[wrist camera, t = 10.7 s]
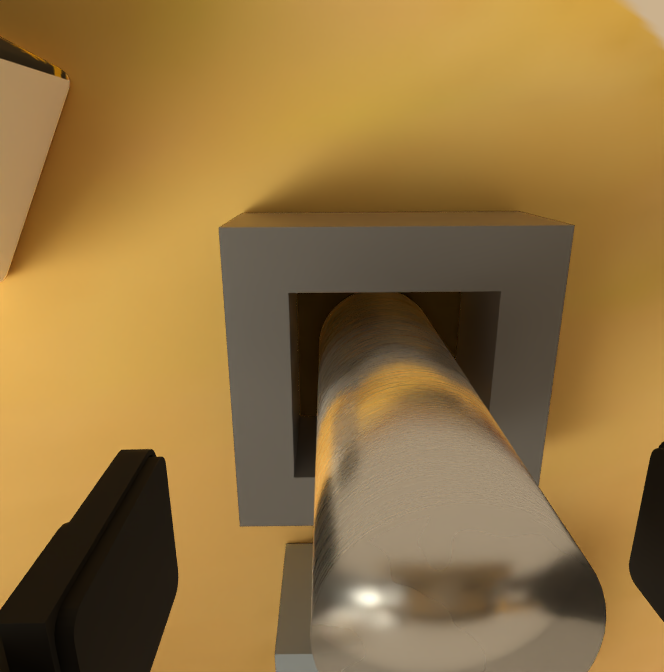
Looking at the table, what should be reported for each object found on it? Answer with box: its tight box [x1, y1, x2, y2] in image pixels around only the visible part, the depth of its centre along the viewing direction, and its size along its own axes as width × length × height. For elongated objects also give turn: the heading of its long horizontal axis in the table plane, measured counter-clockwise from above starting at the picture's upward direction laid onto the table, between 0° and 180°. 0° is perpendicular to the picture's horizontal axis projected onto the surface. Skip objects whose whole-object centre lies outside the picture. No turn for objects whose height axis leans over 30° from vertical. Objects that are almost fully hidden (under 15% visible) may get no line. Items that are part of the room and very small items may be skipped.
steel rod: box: [310, 292, 606, 672], centre depth 13 cm, size 4×4×12 cm
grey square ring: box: [219, 211, 575, 526], centre depth 17 cm, size 9×9×4 cm
